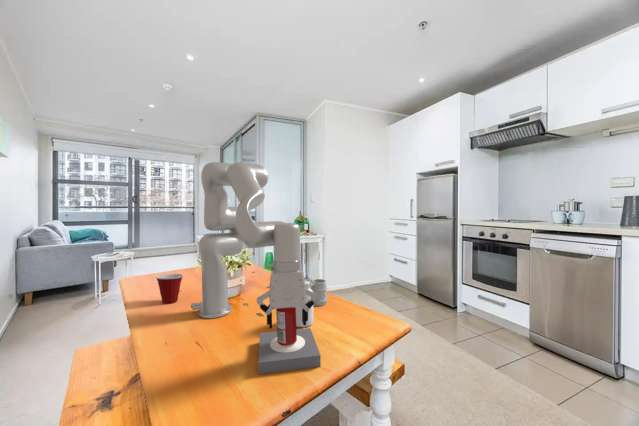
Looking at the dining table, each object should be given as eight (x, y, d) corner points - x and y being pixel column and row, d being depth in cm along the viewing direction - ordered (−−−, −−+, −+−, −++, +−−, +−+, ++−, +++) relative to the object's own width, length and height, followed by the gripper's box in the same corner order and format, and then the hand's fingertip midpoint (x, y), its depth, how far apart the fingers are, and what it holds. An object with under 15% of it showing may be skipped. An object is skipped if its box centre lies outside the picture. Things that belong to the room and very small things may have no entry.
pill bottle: (316, 319, 99) (316, 280, 98) (308, 329, 91) (308, 286, 91) (297, 317, 101) (296, 278, 101) (287, 326, 94) (287, 284, 93)
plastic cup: (189, 298, 123) (188, 272, 123) (172, 306, 112) (172, 278, 112) (168, 296, 125) (168, 271, 125) (150, 305, 114) (149, 277, 114)
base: (258, 374, 67) (258, 361, 67) (259, 342, 83) (259, 332, 82) (320, 366, 70) (320, 354, 70) (310, 337, 86) (310, 327, 86)
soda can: (299, 337, 78) (297, 298, 78) (293, 348, 73) (292, 305, 73) (281, 336, 80) (279, 297, 79) (274, 346, 74) (273, 304, 74)
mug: (331, 303, 116) (331, 276, 115) (310, 310, 108) (310, 281, 107) (319, 298, 121) (319, 272, 121) (299, 305, 113) (299, 277, 113)
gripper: (255, 270, 70) (256, 334, 71) (319, 267, 74) (319, 328, 74) (256, 264, 78) (257, 322, 78) (314, 262, 81) (314, 317, 82)
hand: (287, 325), depth 76 cm, fingers open, 9 cm apart
